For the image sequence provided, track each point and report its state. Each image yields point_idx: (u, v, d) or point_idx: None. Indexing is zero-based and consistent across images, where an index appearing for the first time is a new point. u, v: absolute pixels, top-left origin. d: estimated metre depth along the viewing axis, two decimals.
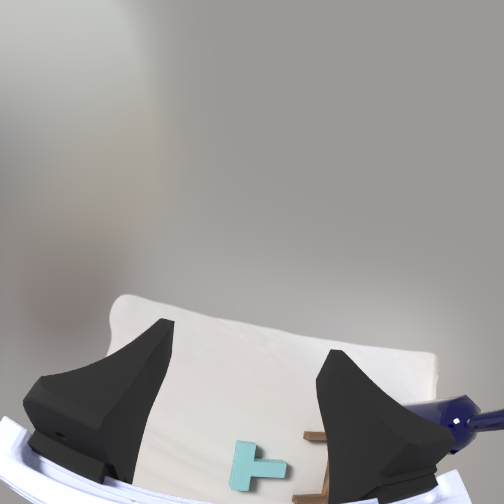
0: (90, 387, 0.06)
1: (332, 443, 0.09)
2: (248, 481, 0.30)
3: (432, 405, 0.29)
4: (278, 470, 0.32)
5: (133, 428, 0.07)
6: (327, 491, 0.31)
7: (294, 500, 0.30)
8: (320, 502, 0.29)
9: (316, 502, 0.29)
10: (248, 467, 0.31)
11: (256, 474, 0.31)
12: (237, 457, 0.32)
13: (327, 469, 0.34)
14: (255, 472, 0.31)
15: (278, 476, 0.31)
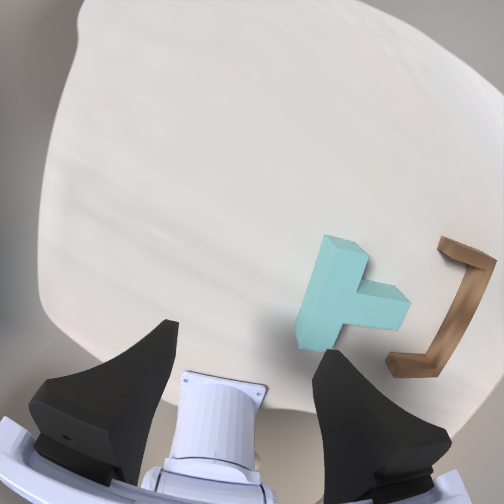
0: (96, 389, 0.06)
1: (328, 443, 0.09)
2: (335, 334, 0.19)
3: None
4: (393, 315, 0.19)
5: (139, 430, 0.07)
6: (439, 357, 0.22)
7: (391, 365, 0.23)
8: (424, 375, 0.22)
9: (420, 374, 0.22)
10: (343, 304, 0.19)
11: (353, 320, 0.19)
12: (326, 280, 0.18)
13: (449, 315, 0.22)
14: (353, 316, 0.19)
15: (389, 326, 0.19)
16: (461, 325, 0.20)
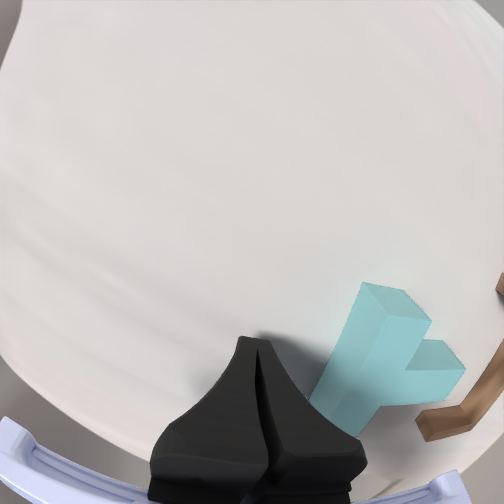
0: (225, 423, 0.06)
1: None
2: (368, 418, 0.12)
3: None
4: (444, 386, 0.11)
5: None
6: (476, 411, 0.14)
7: (423, 426, 0.15)
8: (458, 432, 0.14)
9: (454, 433, 0.14)
10: (385, 385, 0.11)
11: (394, 401, 0.12)
12: (366, 360, 0.11)
13: (493, 363, 0.15)
14: (395, 397, 0.11)
15: (435, 399, 0.12)
16: None
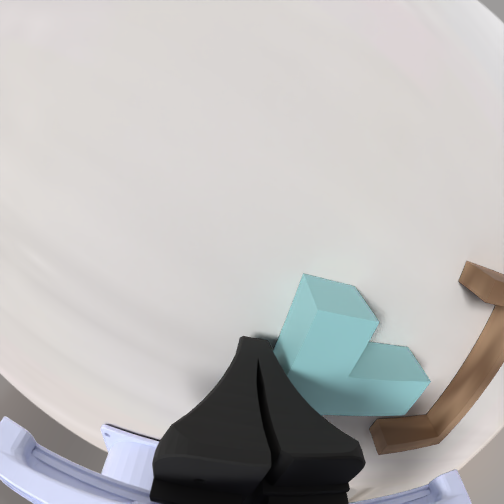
0: (228, 424, 0.06)
1: None
2: None
3: None
4: (403, 399, 0.11)
5: None
6: (444, 422, 0.14)
7: (376, 436, 0.15)
8: (422, 445, 0.14)
9: (416, 446, 0.14)
10: (325, 392, 0.10)
11: (339, 410, 0.11)
12: (296, 361, 0.10)
13: (464, 369, 0.14)
14: (340, 406, 0.11)
15: (393, 412, 0.11)
16: (480, 386, 0.12)
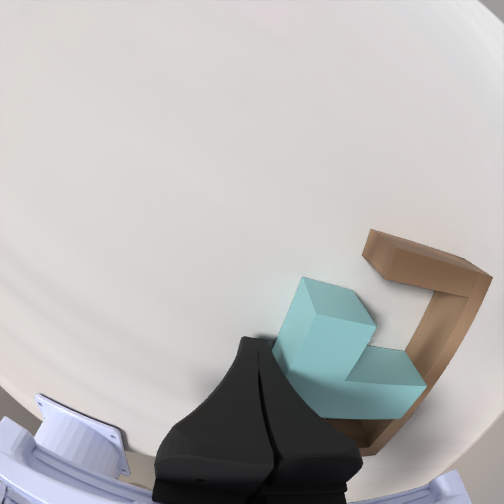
0: (230, 424, 0.06)
1: None
2: None
3: None
4: (399, 403, 0.11)
5: None
6: (376, 431, 0.13)
7: None
8: None
9: None
10: (321, 395, 0.10)
11: (336, 413, 0.11)
12: (294, 364, 0.10)
13: None
14: (336, 409, 0.11)
15: (389, 416, 0.11)
16: None
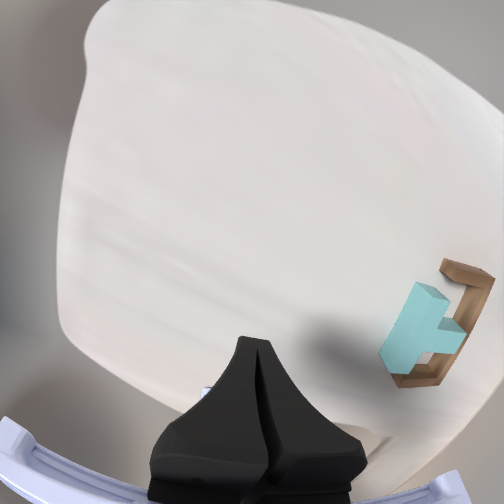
0: (225, 423, 0.06)
1: None
2: (416, 359, 0.21)
3: None
4: (455, 343, 0.21)
5: None
6: (440, 367, 0.23)
7: (395, 376, 0.24)
8: (427, 384, 0.23)
9: (422, 384, 0.23)
10: (426, 337, 0.20)
11: (430, 348, 0.21)
12: (420, 321, 0.20)
13: None
14: (430, 346, 0.21)
15: (450, 351, 0.21)
16: None
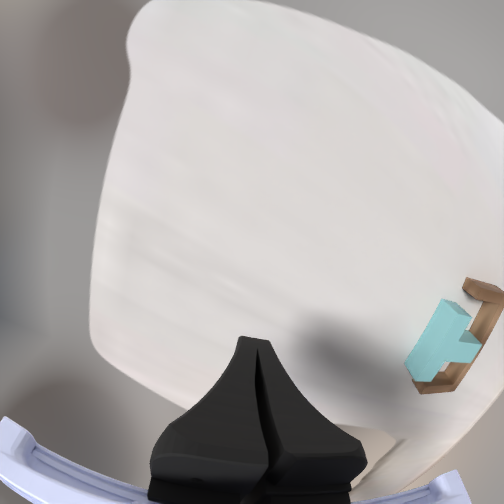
0: (225, 423, 0.06)
1: None
2: (438, 368, 0.22)
3: None
4: (471, 353, 0.22)
5: None
6: (456, 375, 0.24)
7: (417, 383, 0.25)
8: (444, 390, 0.24)
9: (440, 390, 0.24)
10: (449, 349, 0.21)
11: (451, 359, 0.22)
12: (445, 335, 0.21)
13: None
14: (451, 356, 0.21)
15: (467, 361, 0.22)
16: None
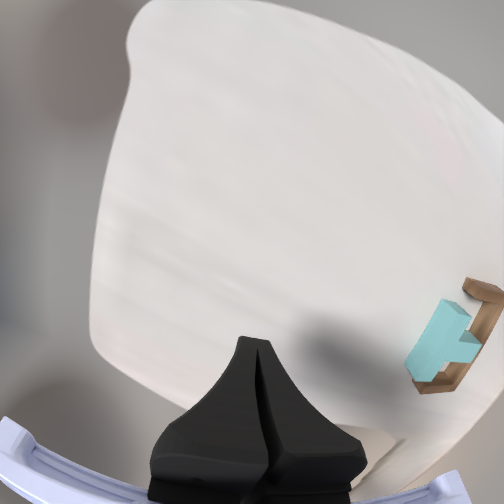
0: (225, 423, 0.06)
1: None
2: (438, 368, 0.22)
3: None
4: (471, 353, 0.22)
5: None
6: (456, 375, 0.24)
7: (417, 383, 0.25)
8: (444, 390, 0.24)
9: (440, 390, 0.24)
10: (449, 349, 0.21)
11: (451, 359, 0.22)
12: (445, 335, 0.21)
13: None
14: (451, 356, 0.21)
15: (467, 361, 0.22)
16: None
